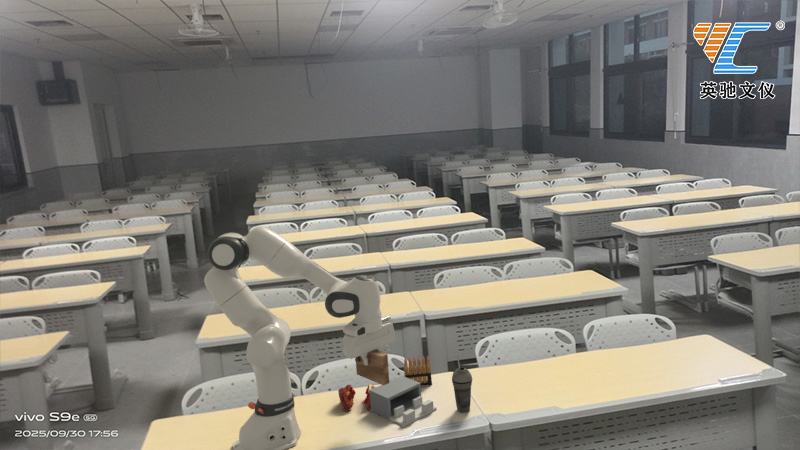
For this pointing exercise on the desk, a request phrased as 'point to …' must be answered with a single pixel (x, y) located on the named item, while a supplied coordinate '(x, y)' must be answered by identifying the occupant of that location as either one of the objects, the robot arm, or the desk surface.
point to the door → (374, 367)
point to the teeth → (348, 395)
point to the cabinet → (400, 401)
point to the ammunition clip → (421, 373)
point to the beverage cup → (462, 388)
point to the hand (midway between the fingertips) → (371, 362)
